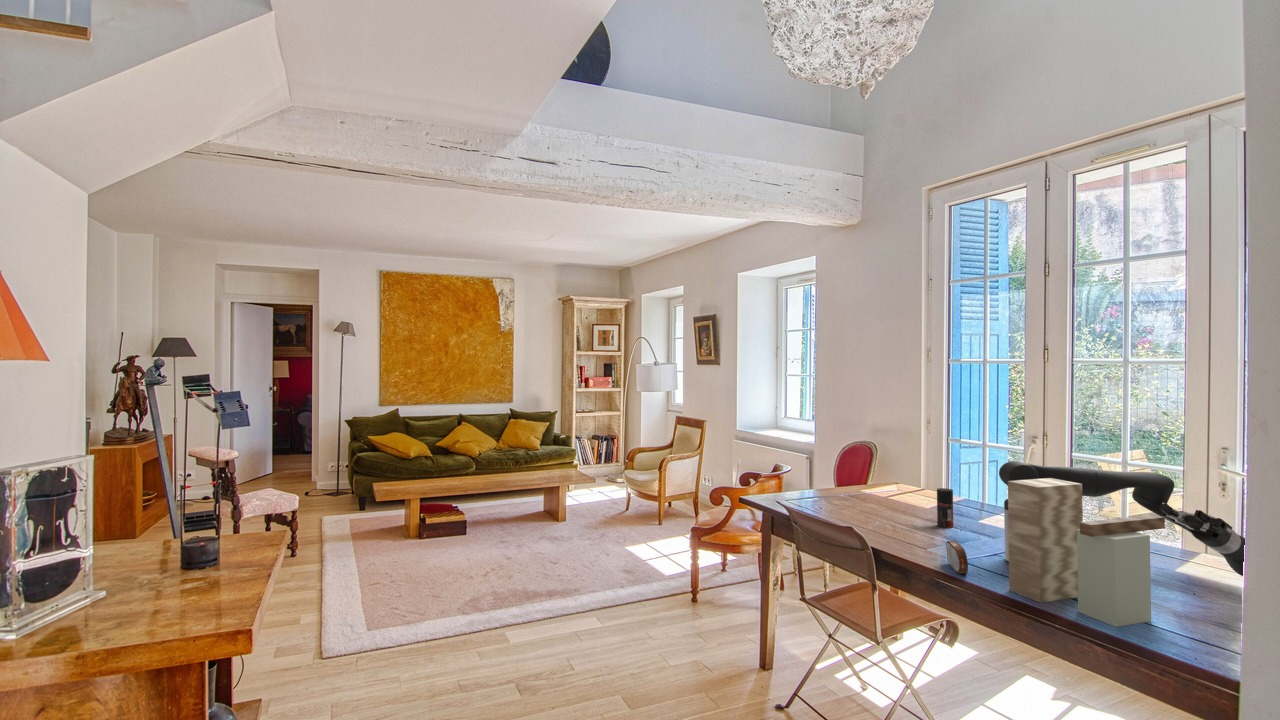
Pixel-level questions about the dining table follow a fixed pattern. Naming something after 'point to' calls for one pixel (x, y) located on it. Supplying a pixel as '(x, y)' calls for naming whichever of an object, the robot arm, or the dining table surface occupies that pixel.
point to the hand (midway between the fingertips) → (1178, 509)
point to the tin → (957, 557)
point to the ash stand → (1044, 538)
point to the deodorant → (945, 508)
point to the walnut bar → (1122, 525)
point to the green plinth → (1114, 577)
